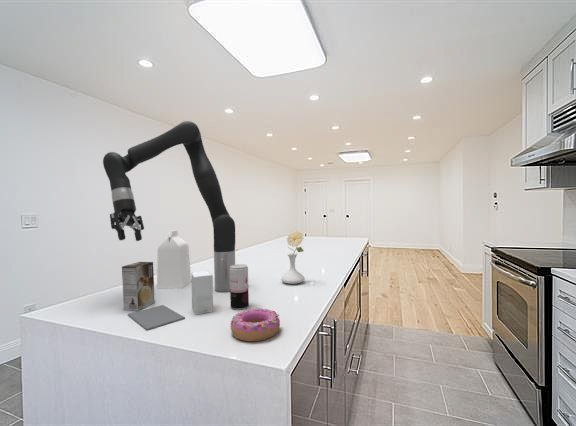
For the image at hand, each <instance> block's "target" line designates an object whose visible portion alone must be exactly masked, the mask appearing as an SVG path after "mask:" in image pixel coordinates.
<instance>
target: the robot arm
mask: <svg viewBox="0 0 576 426" xmlns="http://www.w3.org/2000/svg"><path fill="white" fill-rule="evenodd" d="M179 145H183V147H184V149H185V150H186V153H187V155H188V159H189V161H190V165H191V169H192V174H193V177H194V180H195V183H196V186H197V188H198V191H199V193H200V196H201V197H202V198H203V201H204V203H205V204H206V207H207V208H208V209H207V210H208V212H209V215H210V218H211V221H212V228H213V229H212V230H213V266H214V267H213V269H214V291H216V292H219V293H220V292H221V293H225V292H226V293H227V292H230V266H232V265H236V223H235V219H234V218H232V217H231V216H230V214H229V211H228V209H227V207H226V204H225V203H224V199H223V193H222V189H221V185H220V182H219V179H218V177H217V174H216V171H215V169H214V166H213V165H212V162H211V161H210V159H209V156H208V155H207V153H206V150H205V147H204V144H203V139H202V134H201V131H200V128H199V127H198V125H197V124H196V123H195V122H193V121H190V120H186V121H185V120H183V122H181V123H179V124H177V125H176V126H173V128H171V129H169V130H167V131H165V132H163V133H161V134H160V135H158V136H156V137H154V138H151V139H148V140H147V141H144V142H141V143H138V144H137V145H134V146H131V147H130V148H128V149H127V154H125V155H124V156H122V155H121V154H120V153H117V152H116V151H109V152H107V153H106V154H104V156H103V158H102V159H103V160H102V165H103V168H104V171H105V173H106V176H107V178H108V181H109V186H110V192H111V200H112V205H113V211H114V212H112V213H109V221H110V227H111V229H112V230H115V231H116V232H117V238H118V241H124V240H126V234H125V226H126V227H129V228H130V229H132V230H133V233H134V238H135V241H136V242H139V241H141V240H142V239H143V238H142V237H143V236H142V230H145V226H144V223H143V218H142V216H141V215H136V214H135V212H137V207H136V203H135V197H134V193H133V190H132V186H131V181H130V178H129V177H128V176H127V174H126V173H128V172H131V171H132V170H133V169H135V168H136V167H137V166H138V165H139V164H143V163H145V162H147V161H150V160H152V159H154V158H157V156H159V155H161V154H163V152H165V151H167V150H169V149H171V148H173V147H176V146H179Z"/></svg>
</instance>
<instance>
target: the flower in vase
mask: <svg viewBox="0 0 576 426" xmlns="http://www.w3.org/2000/svg"><path fill="white" fill-rule="evenodd" d="M303 239H304V237H303V232H301V231H299V230H295V231H292V232H290V233H289V234H288V235H287V238H286V242H287V245H288V246H287V247H288V249H290V250H291V251H293V252H289V253H287V257H288V258H289V264H290V265H289V267H290V268H289V269H288V271H287V272H285V273H284V274H283V275H282V276H281V279H280V280H281V282H282V283H285V284H290V285H292V284H300V283H303V282H304V281H305V280H306V278H305V276H304V275H303V273H300V272H299V271H298V270H297V268H296V258H297V256H298V253H302V252H304V249H303V247H302V246H299V245H301V244H302V243H303V241H304V240H303ZM289 246H291V247H294V248H295V247H296V248H295V249H292V248H290V247H289ZM298 246H299V247H298ZM296 251H297V253H296Z"/></svg>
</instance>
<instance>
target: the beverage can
mask: <svg viewBox="0 0 576 426" xmlns="http://www.w3.org/2000/svg"><path fill="white" fill-rule="evenodd" d="M248 267H249V266H248V265H247V264H243V263H242V264H241V263H240V264H235V265H232V266H230V291H229V292H230V308H231V309H233V310H235V311H236V310H239V311H240V310H246V309H247V308H248V307H249V305H250V303H249V301H250V300H249V296H250V295H249V268H248Z"/></svg>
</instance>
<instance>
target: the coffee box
mask: <svg viewBox="0 0 576 426" xmlns="http://www.w3.org/2000/svg"><path fill="white" fill-rule="evenodd" d="M121 272H122V274H121V277H122V280H121V281H122V299H123V304H122V305H123V311H132V312H133V311H134V312H137V311H141V310H144V309H146V308H147V307H148V306H151V305H152V304H154V303H155V279H154V278H155V277H154V276H155V275H154V273H155V272H154V262H153V261H138V262H133V263H130V264H127V265H122V266H121Z"/></svg>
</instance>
